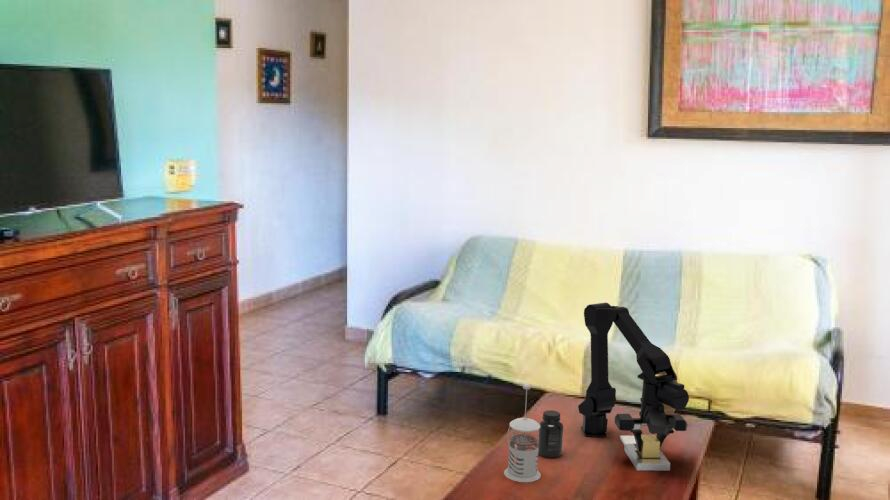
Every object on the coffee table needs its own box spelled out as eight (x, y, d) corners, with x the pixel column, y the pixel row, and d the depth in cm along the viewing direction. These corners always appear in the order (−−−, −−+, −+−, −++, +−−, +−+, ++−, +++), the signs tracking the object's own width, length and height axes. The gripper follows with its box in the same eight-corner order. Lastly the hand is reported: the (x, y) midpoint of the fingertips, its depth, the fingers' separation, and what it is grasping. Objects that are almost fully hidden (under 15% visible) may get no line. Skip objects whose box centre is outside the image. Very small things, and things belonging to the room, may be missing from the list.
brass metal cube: (641, 465, 227) (643, 441, 226) (636, 458, 232) (638, 434, 231) (658, 465, 228) (660, 441, 226) (653, 458, 232) (654, 434, 231)
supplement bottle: (564, 451, 235) (567, 411, 233) (557, 460, 229) (560, 419, 227) (541, 446, 238) (544, 406, 235) (534, 455, 232) (536, 414, 229)
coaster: (627, 449, 237) (627, 446, 237) (619, 438, 245) (620, 435, 245) (654, 449, 238) (654, 447, 238) (646, 438, 246) (646, 435, 246)
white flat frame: (637, 470, 224) (637, 463, 224) (624, 450, 237) (624, 443, 237) (669, 470, 225) (670, 463, 224) (655, 450, 237) (655, 443, 237)
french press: (516, 485, 214) (521, 392, 209) (493, 466, 224) (497, 378, 219) (548, 478, 218) (553, 387, 213) (524, 460, 228) (528, 373, 224)
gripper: (626, 408, 218) (622, 464, 221) (696, 409, 219) (691, 464, 222) (616, 393, 229) (612, 446, 232) (682, 394, 230) (677, 447, 233)
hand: (648, 451), depth 229 cm, fingers closed on brass metal cube, 5 cm apart
